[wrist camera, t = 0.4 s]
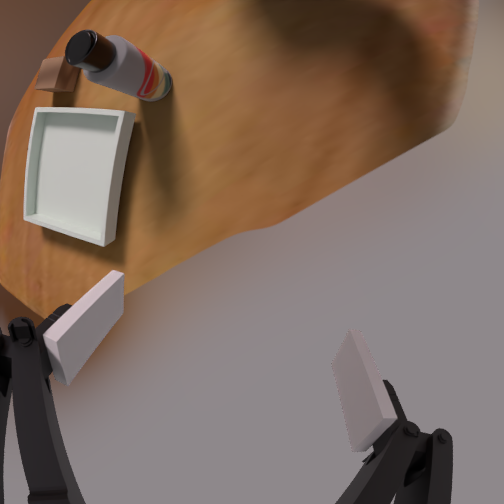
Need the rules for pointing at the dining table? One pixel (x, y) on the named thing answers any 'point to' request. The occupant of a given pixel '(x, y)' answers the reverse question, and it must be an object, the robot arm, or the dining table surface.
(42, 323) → the robot arm
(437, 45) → the dining table surface
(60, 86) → the walnut block
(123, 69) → the lotion bottle
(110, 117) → the tray
